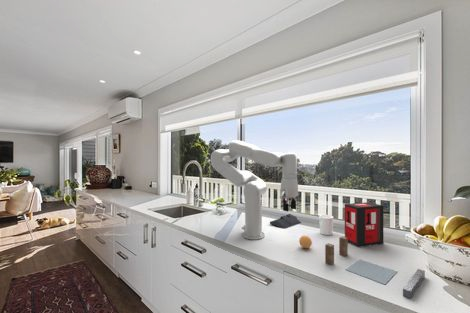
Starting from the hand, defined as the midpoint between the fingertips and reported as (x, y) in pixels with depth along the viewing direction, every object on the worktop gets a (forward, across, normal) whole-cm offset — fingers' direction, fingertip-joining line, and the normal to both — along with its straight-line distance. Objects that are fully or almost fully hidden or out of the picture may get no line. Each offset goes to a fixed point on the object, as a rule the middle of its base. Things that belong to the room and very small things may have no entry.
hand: (289, 209), depth 122 cm
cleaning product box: (+18, -30, +26) cm, 43 cm away
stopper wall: (+17, 0, +54) cm, 56 cm away
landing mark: (+17, 0, +40) cm, 43 cm away
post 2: (+17, -6, +26) cm, 32 cm away
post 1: (+18, +6, +26) cm, 32 cm away
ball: (+15, 0, +10) cm, 17 cm away
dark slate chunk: (+18, -26, -23) cm, 39 cm away
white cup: (+18, -28, +6) cm, 34 cm away
